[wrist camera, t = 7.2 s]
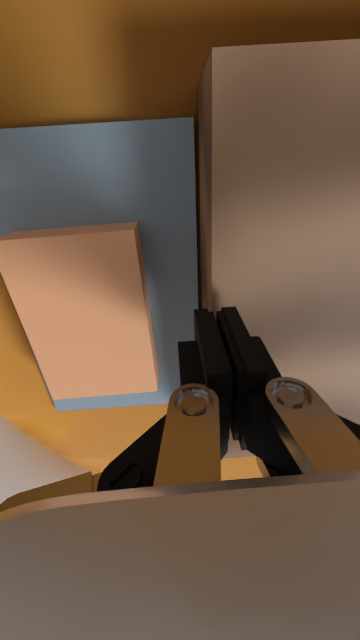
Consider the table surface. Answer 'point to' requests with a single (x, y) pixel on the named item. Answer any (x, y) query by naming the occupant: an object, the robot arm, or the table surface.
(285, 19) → the table surface
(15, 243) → the tan flat block
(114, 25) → the table surface
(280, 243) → the plate
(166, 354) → the mat
